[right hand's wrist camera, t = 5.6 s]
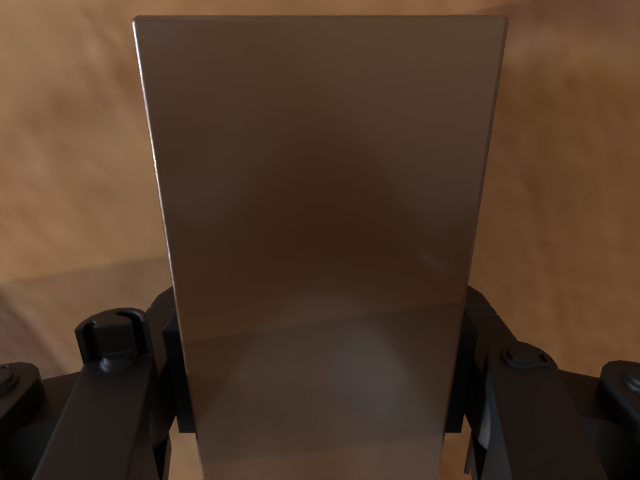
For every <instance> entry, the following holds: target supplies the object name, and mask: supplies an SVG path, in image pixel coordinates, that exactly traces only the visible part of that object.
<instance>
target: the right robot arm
mask: <svg viewBox="0 0 640 480" xmlns="http://www.w3.org/2000/svg"><path fill="white" fill-rule="evenodd" d="M75 334H76V338H77V342H78V345H79V349H80V353H81V356H82V360H83V364H84V365H83V368H82V370H81V371H80V372H76V373H72V374H68V375H63V376H58V377H53V378H48V379H43V380H42V379H41V376H40V373H39V370H38V368H37V367H36V366H34V365H33V364H31V363H24V362H17V363H9V364H3V365H0V480H168V475H169V466H170V457H171V442H170V436H169V430H170V428H171V425H172V423H173V421H174V418H175V416H177V422H178V428H179V433H195V427H194V421H193V415H192V408H191V402H190V395H189V389H188V382H187V376H186V369H185V363H184V356H183V350H182V343H181V337H180V330H179V324H178V317H177V311H176V304H175V298H174V291H173V286H172V287H171V288H169V289H167V290H166V291H164V292H163V293H161V294H160V295H158V296H157V298H156V299H155V300H154V302H153V303H152V304H151V307H150V308H148V310H147V311H146V312H145V313H144V312H143V311H142V310H140V309H135V308H116V309H111V310H106V311H103V312H101V313H98V314H95V315H93V316H91V317H89V318H88V319H86V320H84V321H83V322H81V323H80V324H79V325H78V326H77V328H76V329H75ZM464 413H465V416H466V418H467V420H468V423H469V425H470V427H471V430H472V431H471V436H470V441H469V447H468V452H467V457H466V463H465V469H464V473H466V474H469V473H470V467H471V474H472V480H640V363H637V362H630V361H621V360H619V361H612V362H608V363H607V364H606V365H604V366H603V368H602V371H601V374H600V377H599V378H596V377H591V376H586V375H581V374H576V373H571V372H567V371H563V370H559V369H558V367H557V365H556V363H555V362H554V361H553V359H552V358H551V357H550V356H549V355H548V354H546V353H545V352H544V351H542V350H541V349H539V348H537V347H535V346H532V345H530V344H528V343H524V342H520V341H518V340H517V339H516V338H515V337H514V335H513V334H512V333H511V331H510V330H509V329H508V327H507V326H506V325H505V323H504V322H503V321H502V319H501V318H500V317H499V316H498V315H497V313H496V312H495V310H494V309H493V308H492V306H490V304H489V302H488V301H487V300H486V298H485V297H484V296H483V295H482V294H481V293H480V292H478V291H477V290H475V289H473V288H472V287H470V286H469V285H468V286H467V293H466V299H465V306H464V312H463V319H462V325H461V332H460V338H459V345H458V351H457V358H456V364H455V370H454V377H453V383H452V390H451V396H450V403H449V409H448V416H447V422H446V429H445V433H461V429H462V423H463V418H464Z"/></svg>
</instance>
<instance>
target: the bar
mask: <svg viewBox="0 0 640 480" xmlns="http://www.w3.org/2000/svg"><path fill="white" fill-rule="evenodd" d="M132 26H133V32H134V39H135V45H136V52H137V58H138V65H139V71H140V78H141V84H142V91H143V97H144V104H145V110H146V117H147V123H148V130H149V136H150V143H151V149H152V155H153V162H154V168H155V175H156V181H157V188H158V194H159V201H160V207H161V214H162V220H163V227H164V233H165V240H166V246H167V253H168V259H169V266H170V272H171V279H172V285H173V291H174V298H175V304H176V311H177V317H178V324H179V330H180V337H181V343H182V350H183V356H184V363H185V369H186V376H187V382H188V389H189V395H190V402H191V408H192V415H193V421H194V427H195V434H196V440H197V447H198V453H199V460H200V466H201V473H202V479H203V480H438V474H439V468H440V461H441V455H442V448H443V442H444V435H445V429H446V422H447V416H448V409H449V403H450V396H451V390H452V383H453V377H454V370H455V364H456V358H457V351H458V345H459V338H460V332H461V325H462V319H463V312H464V306H465V299H466V293H467V286H468V280H469V273H470V267H471V260H472V254H473V247H474V241H475V234H476V228H477V221H478V215H479V208H480V202H481V195H482V189H483V183H484V176H485V170H486V163H487V157H488V150H489V144H490V137H491V131H492V124H493V118H494V111H495V105H496V98H497V92H498V85H499V79H500V72H501V66H502V59H503V53H504V46H505V40H506V33H507V27H508V18H506V17H504V16H503V15H138V16H136V17H134V18H133V19H132Z"/></svg>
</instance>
